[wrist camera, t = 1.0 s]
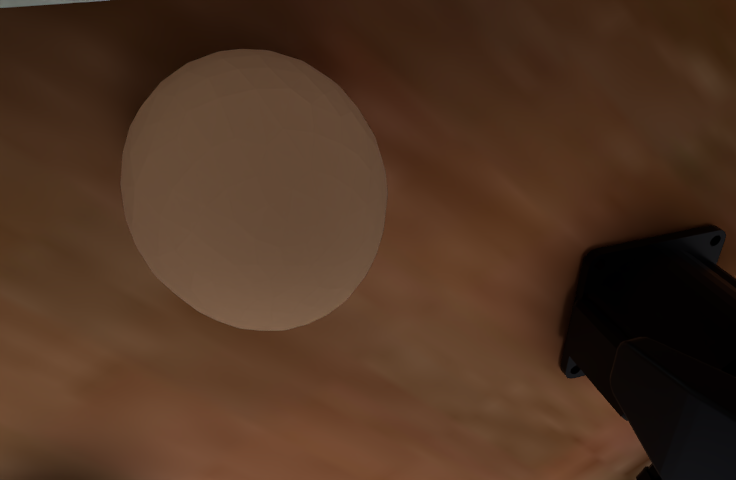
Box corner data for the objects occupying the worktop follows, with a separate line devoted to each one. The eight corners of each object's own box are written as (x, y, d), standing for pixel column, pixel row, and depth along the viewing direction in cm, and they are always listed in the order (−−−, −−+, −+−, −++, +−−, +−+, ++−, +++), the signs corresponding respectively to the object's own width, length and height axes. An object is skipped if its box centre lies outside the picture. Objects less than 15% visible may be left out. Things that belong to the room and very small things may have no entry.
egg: (308, -13, 17) (422, 86, 11) (353, 181, 21) (460, 341, 14) (78, 53, 16) (59, 203, 10) (166, 244, 20) (193, 445, 14)
